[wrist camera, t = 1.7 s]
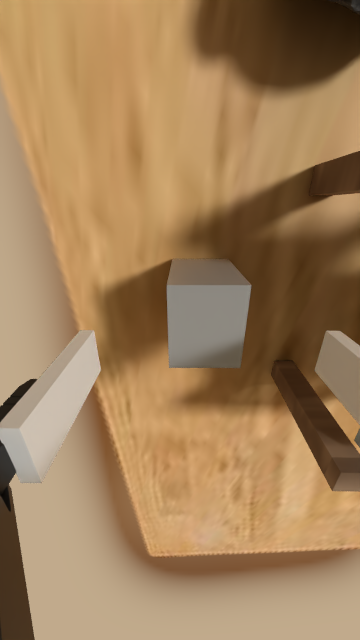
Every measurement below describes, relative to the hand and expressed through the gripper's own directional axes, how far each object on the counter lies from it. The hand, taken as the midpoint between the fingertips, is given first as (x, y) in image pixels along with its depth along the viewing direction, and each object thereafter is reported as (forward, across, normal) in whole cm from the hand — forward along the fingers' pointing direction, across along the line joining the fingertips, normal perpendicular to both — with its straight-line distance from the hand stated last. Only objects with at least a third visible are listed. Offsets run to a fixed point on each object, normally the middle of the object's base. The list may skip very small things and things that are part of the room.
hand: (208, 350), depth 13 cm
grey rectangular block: (+10, 0, 0) cm, 10 cm away
